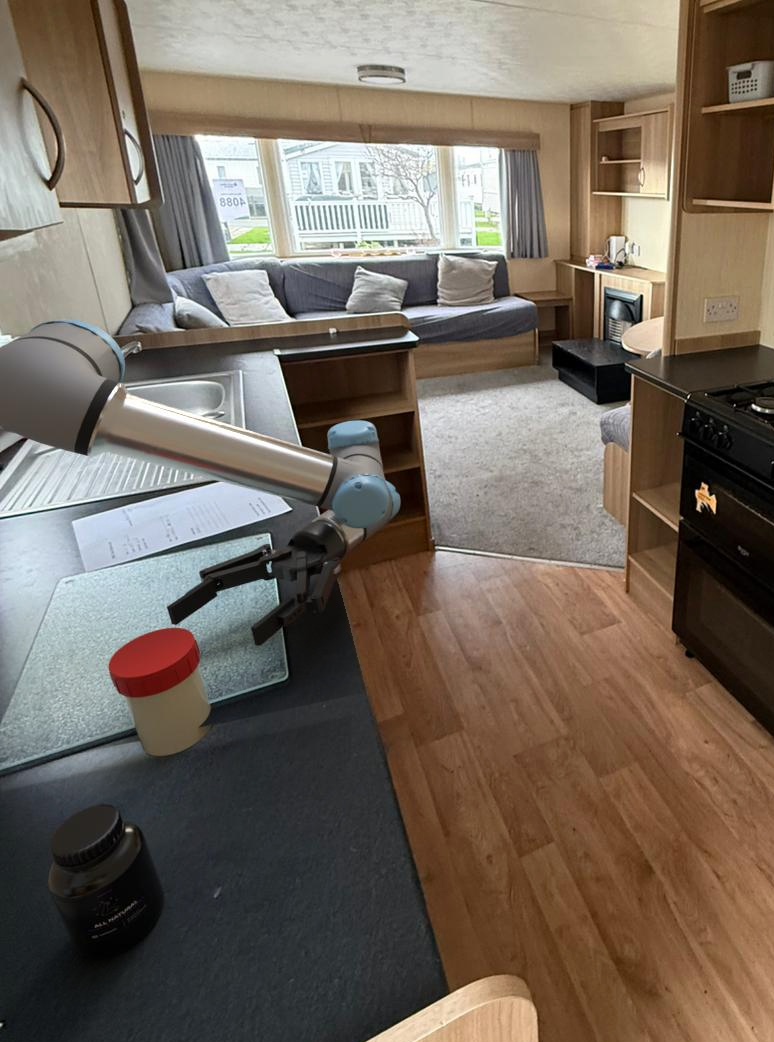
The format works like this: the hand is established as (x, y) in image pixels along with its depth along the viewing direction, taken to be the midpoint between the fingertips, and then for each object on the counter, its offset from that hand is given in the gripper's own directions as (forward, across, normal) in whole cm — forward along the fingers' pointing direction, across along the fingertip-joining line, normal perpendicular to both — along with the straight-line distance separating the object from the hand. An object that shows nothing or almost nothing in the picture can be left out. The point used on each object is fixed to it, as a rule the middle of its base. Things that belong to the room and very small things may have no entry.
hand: (212, 626), depth 82 cm
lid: (+7, 0, +2) cm, 7 cm away
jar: (+7, 0, -10) cm, 12 cm away
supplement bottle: (+26, -14, -10) cm, 31 cm away
